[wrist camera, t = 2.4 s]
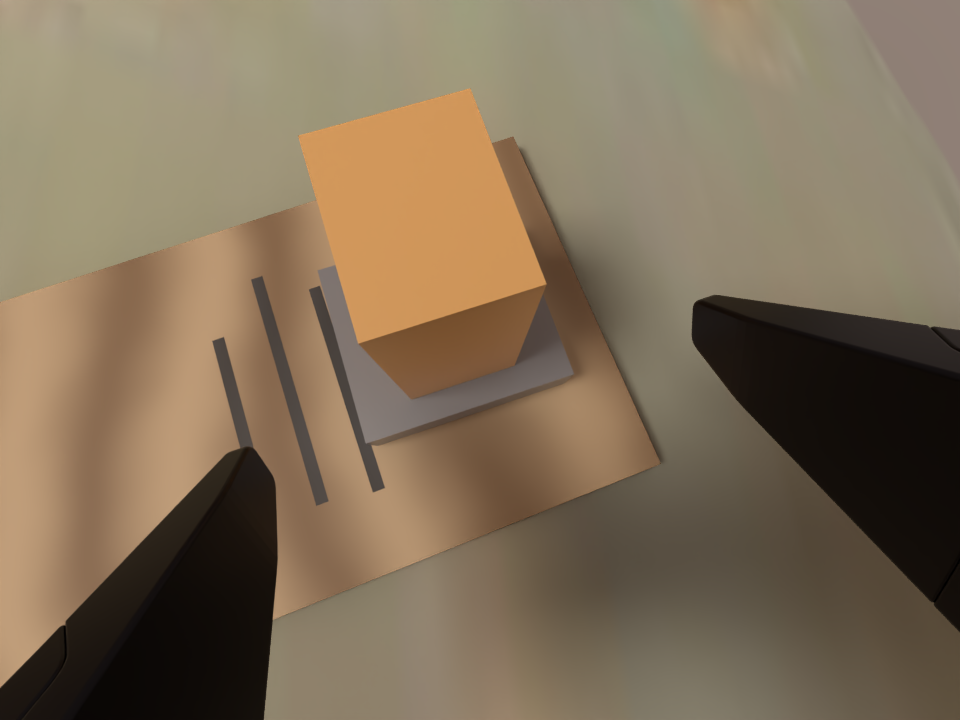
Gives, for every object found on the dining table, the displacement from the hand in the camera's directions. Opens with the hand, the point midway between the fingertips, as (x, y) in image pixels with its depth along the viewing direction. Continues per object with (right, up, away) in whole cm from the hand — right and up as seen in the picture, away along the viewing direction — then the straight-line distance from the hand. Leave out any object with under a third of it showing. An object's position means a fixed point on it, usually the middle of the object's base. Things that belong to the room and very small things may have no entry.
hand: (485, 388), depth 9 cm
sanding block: (-2, +2, +11) cm, 11 cm away
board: (-8, -1, +11) cm, 13 cm away
